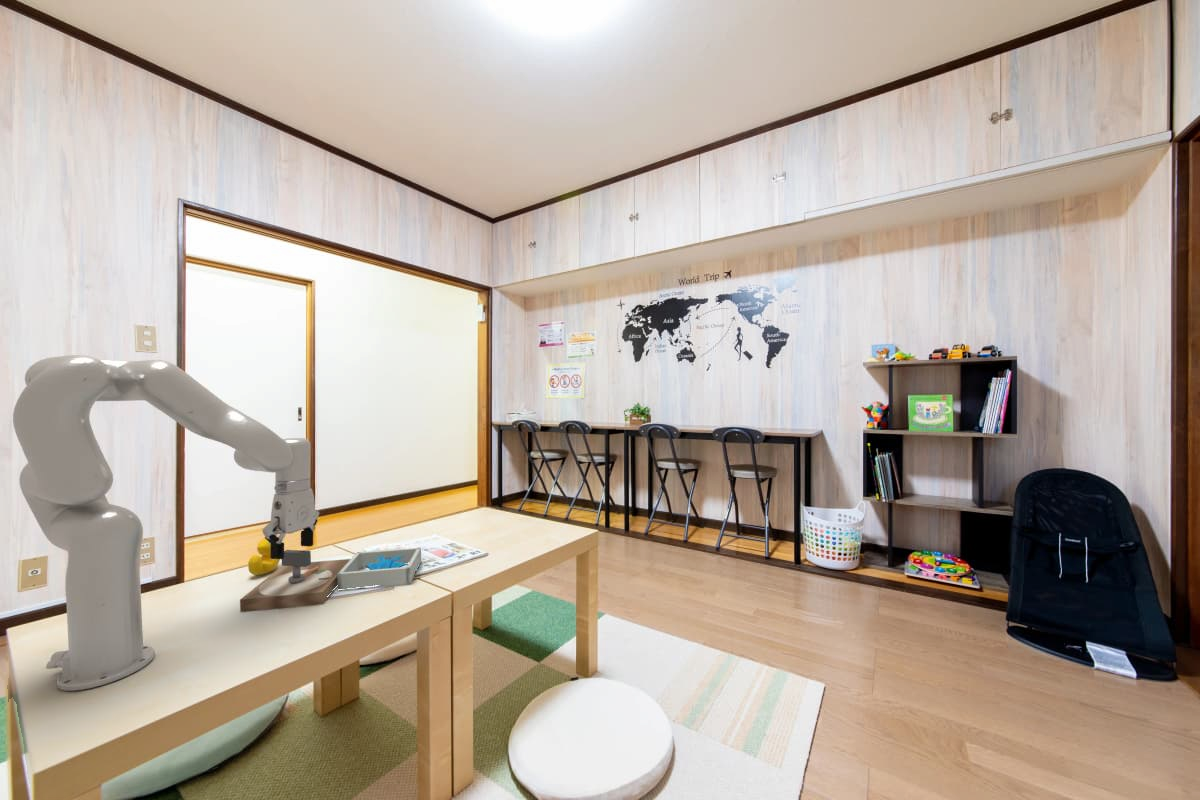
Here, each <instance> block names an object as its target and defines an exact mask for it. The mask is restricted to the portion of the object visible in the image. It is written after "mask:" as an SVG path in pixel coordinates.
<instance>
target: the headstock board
mask: <svg viewBox="0 0 1200 800" xmlns="http://www.w3.org/2000/svg"><path fill="white" fill-rule="evenodd" d="M350 560H351V558H346V559H335V560H334V559H333V560H321V561H319V560H318V561H311V564H310V565H308V566H306V567H301V574H303V573H305V572H307V571H309V570H311V569H313V568H315V567H319V569H317V570H315V571H313V572H312V573H310V574H308V575H306V576H305V579H304V580H303V581H300V582H296V583H289V582H288V578H289V577H291V576H293V574H292V566H282V565H281V566H280V567H279V568H277V570H275V571H274V572H273V573H271V574H270V575H269V576H267V577H266V578H264V579H263V581H261V582H260V583H259V584H257V585H256V586H255V587H254V588H253V589H251V590H250V591H249V592H248V593H246V594H245V595H244V596H242V597H241V598H240V599H239V609H240V610H239V611H240V613H242V612H253V611H263V610H265V611H266V610H274V609H285V607H286V608H294V607H295V608H296V607H305V606H315V605H316V606H317V605H323V604H324V603H325V602H326V601H327V600H328V599H327V596H328V595H329V594H330V593H331V592H332V590H333V589H334V588H335V587H336V586H337V585H338V583H337V574H338V573H339V572H340V571H341V570H342V568H343V567H344V566H345V565H346V564H347V563H348V562H349V561H350Z"/></svg>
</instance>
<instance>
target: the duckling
mask: <svg viewBox="0 0 1200 800" xmlns="http://www.w3.org/2000/svg"><path fill="white" fill-rule="evenodd" d="M277 537H279V535H277ZM256 550H257V551H256V552H257V553H258V554H254V555H252V556H251V557H250V558H249V559H248V567H247V568H248V572H249V573H250V574H252V575H254V576H262V575H266V574H268V573H270V572H272V571H274V570H275V569H276V568H277V567H278V565H279V562H280V560H281V559H271V543H268V540H266V539H265V537H264V538H261V539H260V541H259V542H258V544H257V547H256ZM259 554H260V555H261V556H260V555H259Z"/></svg>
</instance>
